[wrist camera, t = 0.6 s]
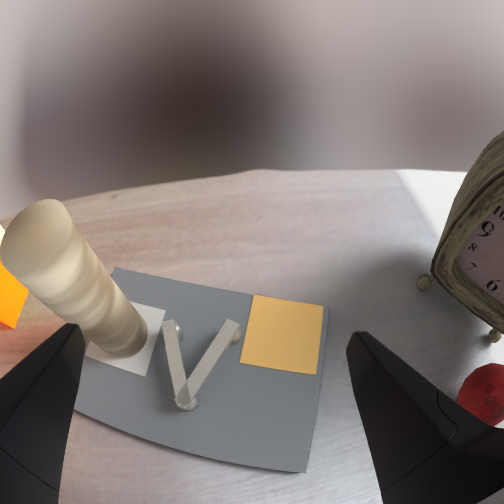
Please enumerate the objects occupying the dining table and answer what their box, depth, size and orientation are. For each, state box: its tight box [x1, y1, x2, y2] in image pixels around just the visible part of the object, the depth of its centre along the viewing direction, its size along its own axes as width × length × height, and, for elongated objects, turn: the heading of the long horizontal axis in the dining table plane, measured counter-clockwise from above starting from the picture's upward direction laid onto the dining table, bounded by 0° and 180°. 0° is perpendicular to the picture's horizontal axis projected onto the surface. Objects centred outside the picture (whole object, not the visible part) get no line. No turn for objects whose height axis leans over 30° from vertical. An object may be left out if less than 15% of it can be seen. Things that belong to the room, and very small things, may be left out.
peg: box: [0, 199, 148, 358], centre depth 17 cm, size 4×4×14 cm
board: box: [74, 267, 329, 473], centre depth 22 cm, size 14×20×1 cm
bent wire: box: [161, 319, 241, 411], centre depth 21 cm, size 7×6×2 cm
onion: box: [457, 363, 504, 427], centre depth 17 cm, size 6×6×8 cm
